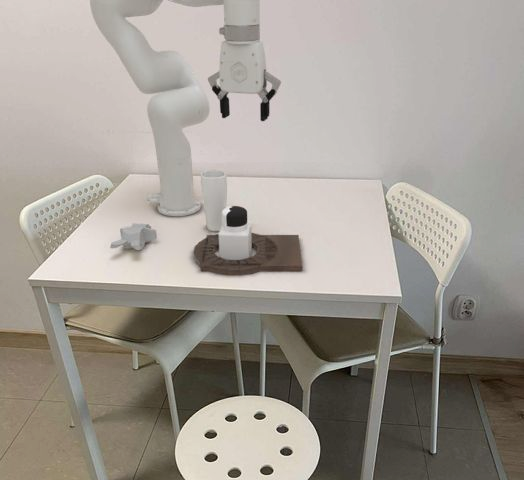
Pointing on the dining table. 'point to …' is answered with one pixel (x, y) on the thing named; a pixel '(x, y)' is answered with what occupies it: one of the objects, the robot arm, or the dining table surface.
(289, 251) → the holder board
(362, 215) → the dining table surface
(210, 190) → the drinking glass
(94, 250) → the dining table surface
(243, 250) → the medicine bottle
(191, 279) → the dining table surface
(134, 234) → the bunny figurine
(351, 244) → the dining table surface
